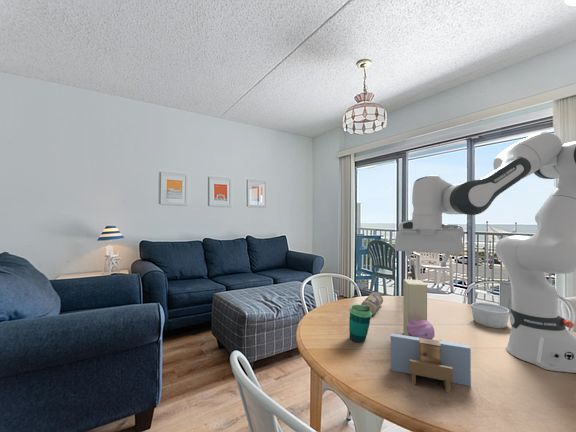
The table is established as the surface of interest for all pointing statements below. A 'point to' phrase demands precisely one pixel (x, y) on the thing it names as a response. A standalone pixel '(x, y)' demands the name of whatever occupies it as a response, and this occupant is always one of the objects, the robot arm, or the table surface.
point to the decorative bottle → (373, 302)
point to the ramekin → (490, 315)
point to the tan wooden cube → (429, 351)
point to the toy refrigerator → (414, 301)
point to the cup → (359, 322)
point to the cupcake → (420, 329)
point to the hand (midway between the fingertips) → (427, 265)
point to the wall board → (450, 370)
